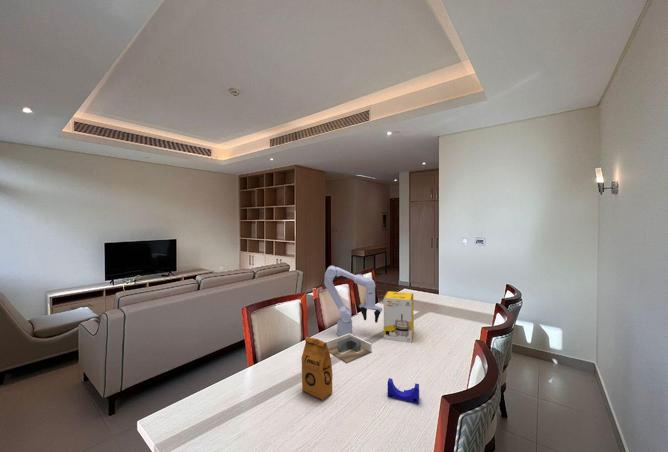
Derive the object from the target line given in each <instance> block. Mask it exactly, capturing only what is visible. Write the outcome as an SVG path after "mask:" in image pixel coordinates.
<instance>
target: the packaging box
mask: <svg viewBox="0 0 668 452" xmlns="http://www.w3.org/2000/svg"><path fill="white" fill-rule="evenodd" d="M414 325H415V324H414V292H413V293H412V292H404V291H403V292H402V291H391V290H390V291H388V290H387V292H386V294H385V295H384V297H383V339H384V340H388V341H389V340H390V341H396V342H403V343H404V342H405V343H413V336H414V331H415V329H414Z"/></svg>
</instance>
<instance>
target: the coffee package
mask: <svg viewBox="0 0 668 452" xmlns="http://www.w3.org/2000/svg"><path fill="white" fill-rule="evenodd" d="M304 342H305V344H304V347H303V351H302V356H301V379H302V380H301V384H302V386H301V390H302V391H303V392H306V393H307V394H310V395H311V396H313V397H315V398H318V399H320V400H322V401H324V400H325V399H326V398H327V397H329V396H331V395H332V393H333V377H334V376H333V375H334V374H333V366H332V358H331V353H329V350H328V347H327V344H326V341H323V340H321V339H319V338H316V337H309V336H306V337H305V338H304Z"/></svg>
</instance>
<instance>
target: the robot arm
mask: <svg viewBox="0 0 668 452" xmlns="http://www.w3.org/2000/svg"><path fill="white" fill-rule="evenodd" d="M341 276H342V277H345V278H347V279H349V280H352V281H353V282H354V284H356V285H359V286H361V287H363V288H365V304H364V303H361V304H359V308H360V309H359V310H360V312H361V314H362V317H363V321H367V317H368V316H367V313H368V312H367V311H368V310H372V311H374V312H373V313H374V322H375V324H377V323H378V321H379V318H380V315H381V312H383V307H381V306H380V307H379V306H377V305H376V285H377V284H376V282H375V281H374V279H372V278H370V277H365V276H363V274H361V273H360V274H358V273H357V274H356V275H355V274H353V273H351V272H349V271H347V270H346V269H344V268H341V267H338V266H335V265H329V266H328V267H327V269H326V271H325V273H324V282H323V283H324V286H325V288H326V290H327V291H328V293H329V296H330V297H331V298H332V300H333V302H334V304H335V306H336V307H337V309H338V312H339V314H340V318H339V319H338V320H337V324H336V327H337V329H336V331H337V332H336V335H337V336H338V337H340V336H343V335H346V334H349V333H350V334H352V335H354V336H356V334H355V333H353V319H352V311H351V309H350V308H349V307H348V306H347V305H346V304H345V302H344V301H343V298H342V297H341V295H340V293H339V292H338V290H337V288H336V286H335V284H334V283H333V281H334V279H335V278H337V277H341Z"/></svg>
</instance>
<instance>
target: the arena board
mask: <svg viewBox="0 0 668 452" xmlns="http://www.w3.org/2000/svg"><path fill="white" fill-rule="evenodd" d="M328 350H329V353H330V355H332V356H333V357H335V358H337V359H338V360H341V361H342V362H344V363H345V364H349V363H351V362H354V361H356V360H358V359H361V358H362V357H364V356H367V355H369V354H372V351H373V350H372V351H371V352H370V351H368V350H366V349H364V348H362V347H361V351H358V352H355V351H353V350H351V349H350V350H348V351H345V352H343V353H340V352H338V345H337V346H335V347H332V348H329V349H328Z"/></svg>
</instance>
